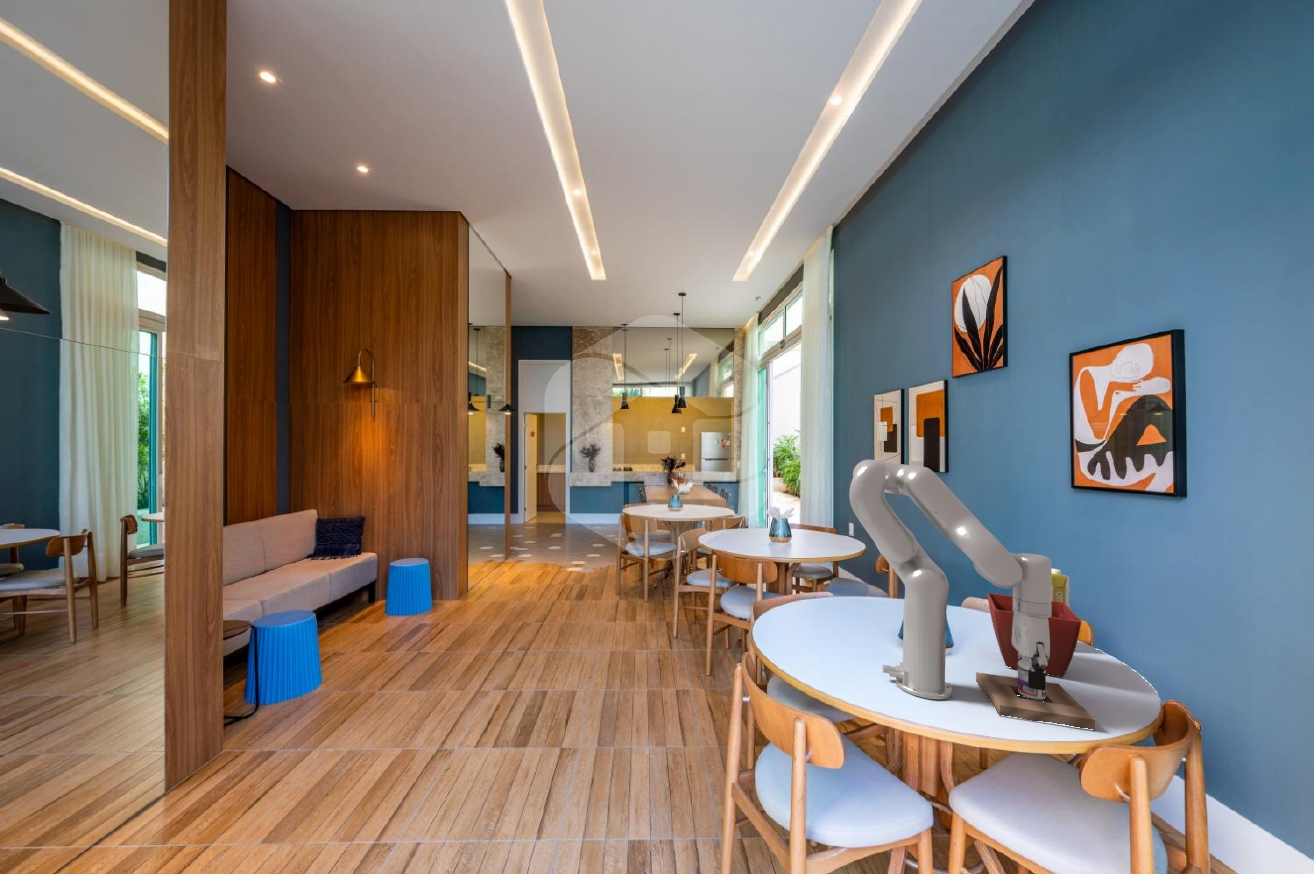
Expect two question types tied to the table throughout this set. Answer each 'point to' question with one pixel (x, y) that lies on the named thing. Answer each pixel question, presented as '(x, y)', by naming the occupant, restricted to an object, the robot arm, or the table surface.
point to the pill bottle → (1023, 680)
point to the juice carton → (1060, 587)
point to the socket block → (1034, 702)
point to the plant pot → (1060, 630)
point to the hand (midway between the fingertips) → (1031, 682)
